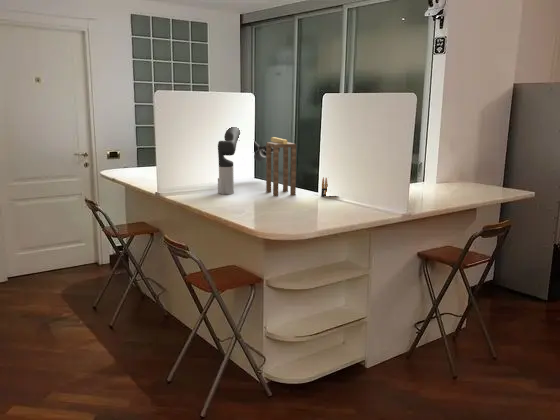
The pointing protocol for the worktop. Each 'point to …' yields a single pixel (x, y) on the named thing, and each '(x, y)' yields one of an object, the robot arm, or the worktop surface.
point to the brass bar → (279, 140)
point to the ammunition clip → (323, 187)
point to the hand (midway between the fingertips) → (271, 147)
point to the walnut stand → (285, 167)
